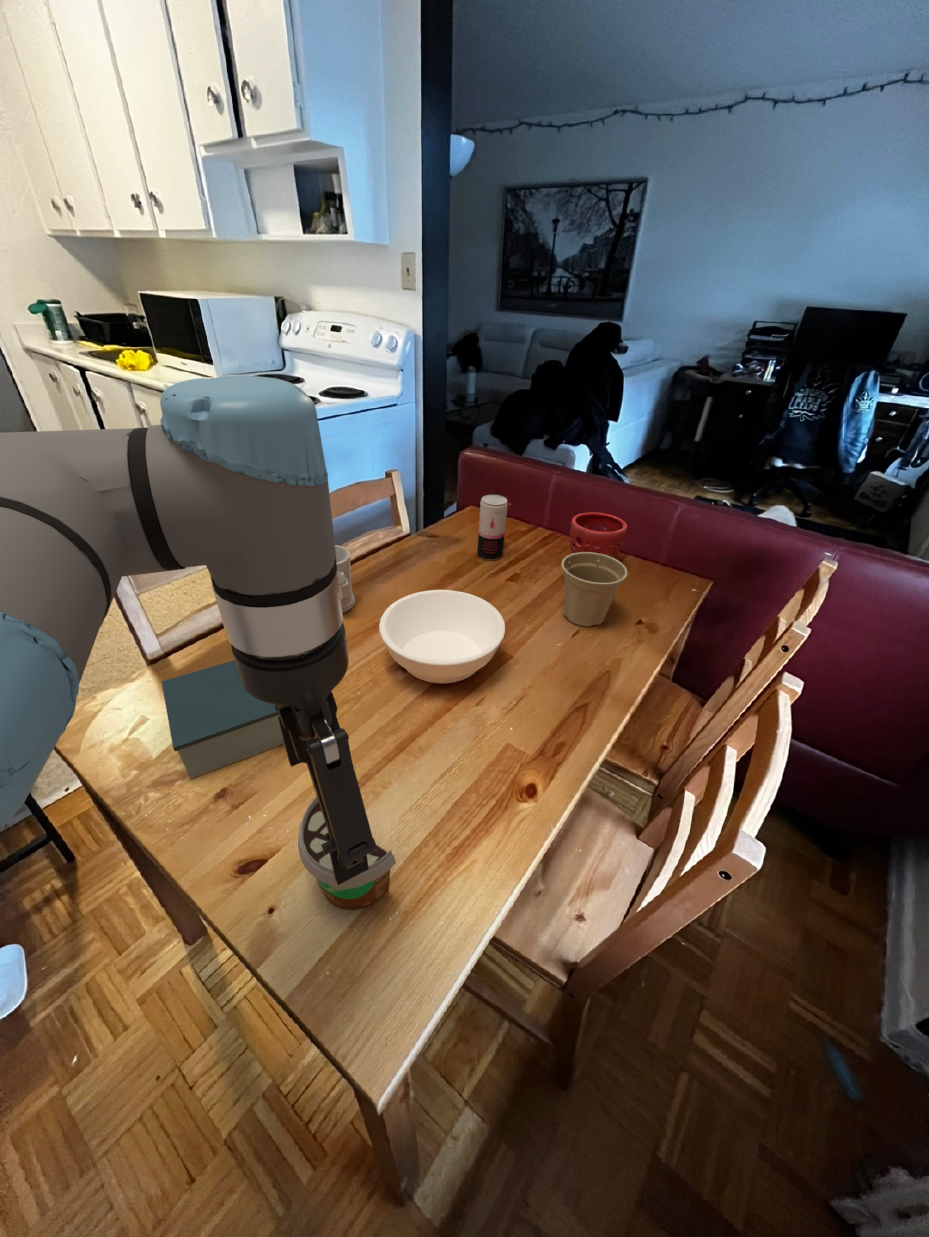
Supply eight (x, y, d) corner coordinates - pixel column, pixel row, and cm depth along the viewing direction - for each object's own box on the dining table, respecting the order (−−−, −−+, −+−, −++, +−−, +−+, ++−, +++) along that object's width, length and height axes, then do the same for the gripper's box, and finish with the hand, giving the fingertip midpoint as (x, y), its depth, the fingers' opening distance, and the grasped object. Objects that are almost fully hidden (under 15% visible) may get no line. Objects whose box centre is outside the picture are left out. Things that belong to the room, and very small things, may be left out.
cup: (369, 599, 109) (365, 550, 102) (349, 622, 102) (343, 571, 95) (326, 589, 111) (320, 541, 104) (304, 611, 104) (295, 561, 97)
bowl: (409, 717, 81) (407, 679, 76) (365, 640, 97) (362, 604, 92) (524, 678, 90) (529, 642, 85) (466, 613, 106) (468, 579, 101)
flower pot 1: (623, 562, 128) (634, 519, 121) (606, 584, 119) (617, 538, 112) (575, 548, 133) (584, 505, 126) (556, 567, 124) (563, 523, 117)
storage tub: (188, 781, 70) (173, 747, 66) (175, 714, 80) (161, 681, 75) (305, 736, 77) (299, 703, 73) (280, 680, 87) (273, 648, 83)
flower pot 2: (549, 597, 113) (558, 549, 106) (607, 600, 113) (619, 553, 106) (556, 631, 102) (566, 581, 95) (620, 635, 102) (634, 585, 95)
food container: (286, 879, 60) (270, 832, 54) (325, 839, 64) (314, 792, 58) (361, 946, 54) (353, 902, 48) (398, 898, 58) (395, 852, 52)
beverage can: (505, 552, 130) (511, 497, 121) (497, 563, 125) (503, 506, 116) (482, 547, 131) (486, 492, 123) (473, 557, 126) (476, 501, 118)
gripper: (421, 729, 27) (422, 911, 40) (291, 542, 44) (321, 710, 57) (282, 787, 24) (331, 966, 36) (199, 561, 41) (252, 735, 53)
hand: (325, 810), depth 46 cm, fingers open, 13 cm apart
